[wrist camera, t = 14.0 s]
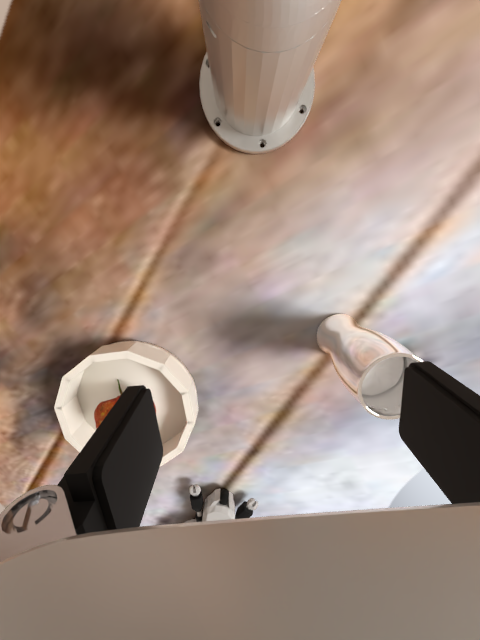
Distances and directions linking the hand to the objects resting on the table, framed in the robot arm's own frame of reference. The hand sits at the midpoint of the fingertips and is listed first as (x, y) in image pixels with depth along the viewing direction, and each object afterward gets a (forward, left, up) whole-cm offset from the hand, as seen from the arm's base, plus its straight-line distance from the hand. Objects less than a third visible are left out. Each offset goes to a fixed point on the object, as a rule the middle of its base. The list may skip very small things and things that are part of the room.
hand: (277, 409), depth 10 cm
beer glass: (+8, +11, -29) cm, 32 cm away
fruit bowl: (+14, -19, -28) cm, 37 cm away
